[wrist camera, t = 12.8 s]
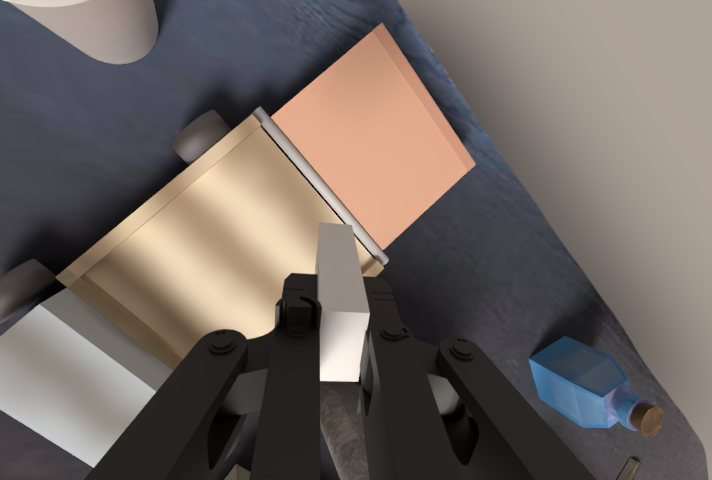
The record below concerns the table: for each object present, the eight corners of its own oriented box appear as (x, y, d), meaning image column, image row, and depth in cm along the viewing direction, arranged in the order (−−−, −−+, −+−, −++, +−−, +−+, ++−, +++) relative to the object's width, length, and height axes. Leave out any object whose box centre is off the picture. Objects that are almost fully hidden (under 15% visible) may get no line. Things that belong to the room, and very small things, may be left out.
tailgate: (383, 266, 34) (482, 173, 35) (251, 112, 28) (374, 9, 30) (377, 261, 35) (472, 173, 37) (251, 116, 30) (368, 18, 31)
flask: (322, 360, 37) (399, 504, 20) (420, 418, 42) (548, 574, 25) (300, 390, 36) (360, 564, 20) (401, 445, 41) (519, 623, 24)
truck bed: (199, 453, 34) (190, 528, 26) (-13, 302, 27) (-105, 344, 20) (381, 274, 38) (418, 295, 30) (232, 102, 31) (232, 74, 24)
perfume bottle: (539, 398, 47) (635, 463, 36) (528, 358, 46) (625, 413, 35) (574, 374, 49) (677, 430, 38) (564, 335, 47) (669, 381, 36)
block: (631, 456, 57) (644, 464, 56) (616, 493, 56) (629, 502, 55) (621, 451, 56) (635, 459, 54) (605, 489, 55) (618, 498, 53)
